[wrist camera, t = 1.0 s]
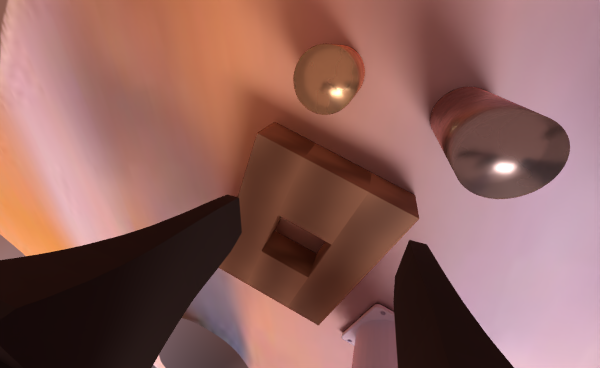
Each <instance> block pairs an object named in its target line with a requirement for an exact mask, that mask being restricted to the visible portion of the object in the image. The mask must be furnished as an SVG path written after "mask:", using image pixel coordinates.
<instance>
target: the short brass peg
mask: <svg viewBox="0 0 600 368" xmlns="http://www.w3.org/2000/svg"><path fill="white" fill-rule="evenodd" d="M364 76H365V68H364V63H363V61H362V59H361V57H360V55H359V54H358V53H357V52H356V51H355V50H354V49H352V48H351V47H348V46H345V45H335V44H320V45H316V46H314V47H312V48H310V49H309V50H307V51H306V52H305V53H304V54H303V55H302V56H301V58H300V59H299V61H298V63H297V65H296V68H295V71H294V80H293V81H294V89H295V92H296V95H297V97H298V99H299V100H300V102H301V103H302V104H303V105H304V106H305V107H306V108H307V109H308V110H310V111H312V112H314V113H317V114H322V115H327V114H333V113H336V112H338V111H340V110H342V109H343V108H344V107H346V106H347V105H348V103H349V102H350V101H351V100H352V98H353V97H354V96H355V95H356V93H357V92H358V91H359V89H360V88H361V86H362V83H363V80H364Z"/></svg>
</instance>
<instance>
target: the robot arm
mask: <svg viewBox="0 0 600 368" xmlns="http://www.w3.org/2000/svg"><path fill="white" fill-rule="evenodd" d="M241 233H242V227H241V215H240V202H239V198H238V197H234V196H230V195H225V196H222V197H220V198H217V199H215V200H213V201H210V202H208V203H206V204H203V205H201V206H199V207H197V208H194V209H192V210H190V211H187V212H185V213H183V214H180V215H178V216H175V217H173V218H170V219H168V220H165V221H162V222H160V223H157V224H155V225H152V226H149V227H146V228H143V229H140V230H137V231H134V232H131V233H128V234H125V235H121V236H118V237H114V238H110V239H106V240H103V241H99V242H95V243H91V244H87V245H83V246H78V247H74V248H69V249H65V250H59V251H54V252H49V253H44V254H38V255H32V256H26V257H19V258H14V259H6V260H0V368H151V367H152V366H153V364H154V362H155V360H156V359H157V357H158V355H159V353H160V352H161V350H162V348H163V347H164V345H165V343H166V341H167V340H168V338H169V337H170V335H171V333H172V332H173V330H174V329H175V327H176V325H177V324H178V322H179V321H180V319H181V318H182V316H183V314H184V313H185V311H186V310H187V308H188V307H189V305H190V304H191V302H192V301H193V299H194V298H195V297H196V295H197V294H198V293H199V291H200V290H201V289H202V288H203V286H204V285H205V284H206V282H207V281H208V280H209V279H210V277H211V276H212V275H213V274H214V272H215V271H216V270H217V269H218V267H219V266H220V265H221V264H222V262H223V261H224V260H225V258H226V257H227V256H228V255H229V253H230V252H231V250H232V249H233V247H234V245H235V244H236V242H237V240H238V239H239V237H240V235H241ZM342 339H343V340H345V341H347V342H348V343H350V344H352V345H353V346H354V353H353V361H352V368H514V367H513V366H512V365H511V364H510V362H509V361H508V360H507V359H506V358H505V356H504V355H503V354H502V353H501V351H500V350H499V349H498V348H497V347H496V345H495V344H494V343H493V342H492V340H491V339H490V338H489V337H488V335H487V334H486V333H485V331H484V330H483V329H482V327H481V326H480V325H479V323H478V322H477V321H476V319H475V318H474V317H473V315H472V314H471V313H470V311H469V310H468V308H467V307H466V305H465V304H464V303H463V301H462V300H461V298H460V297H459V295H458V294H457V292H456V291H455V289H454V287H453V286H452V284H451V283H450V281H449V280H448V278H447V277H446V275H445V273H444V272H443V270H442V269H441V267H440V265H439V264H438V262H437V260H436V259H435V257H434V255H433V254H432V252H431V250H430V249H429V247H428V246H427V244H423V243H419V242H415V241H411V240H409V242H408V245H407V247H406V250H405V252H404V255H403V257H402V260H401V263H400V265H399V268H398V270H397V273H396V275H395V285H394V312H393V311H391V310H389V309H387V308H386V307H384V306H382V305H380V304H375V305H374V306H372V307H371V308H370V309H369V310H368V311H367V312H366V313H365V314H364V315H362V316H361V317H360V318H359V319H358V320H357V321H356V322H355V323H353V324H352V325H351V326H350V327H349V328H348V329H347V330H346V331H344V332H343V333H342Z"/></svg>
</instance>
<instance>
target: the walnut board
mask: <svg viewBox="0 0 600 368" xmlns="http://www.w3.org/2000/svg"><path fill="white" fill-rule="evenodd" d="M238 198H239V202H240V215H241V227H242V233H241V235H240V237H239V239H238V240H237V242H236V244H235V245H234V247H233V249H232V250H231V252H230V253H229V255H228V256H227V257H226V258H225V260H224V261H223V262H222V264H221V265H220V266H219V268H220V269H222V270H224V271H225V272H227V273H229V274H231V275H232V276H234V277H236V278H238V279H239V280H241V281H243V282H244V283H246V284H248V285H250V286H251V287H253V288H255V289H257V290H258V291H260V292H262V293H263V294H265V295H267V296H269V297H270V298H272V299H274V300H276V301H277V302H279V303H281V304H282V305H284V306H286V307H288V308H289V309H291V310H293V311H295V312H296V313H298V314H300V315H302V316H303V317H305V318H307V319H308V320H310V321H312V322H314V323H315V324H317V325H319V324H320V323H321V322H322V321H323V320H324V319H325V318H326V317H327V316H328V315H329V314H330V313H331V312H332V311H333V309H334V308H335V307H336V306H337V305H338V304H339V303H340V302H341V301H342V300H343V299H344V298H345V297H346V296H347V295H348V294H349V293H350V291H351V290H352V289H353V288H354V287H355V286H356V285H357V284H358V283H359V282H360V281H361V280H362V279H363V278H364V277H365V276H366V275H367V273H368V272H369V271H370V270H371V269H372V268H373V267H374V266H375V265H376V264H377V263H378V262H379V261H380V260H381V259H382V258H383V257H384V255H385V254H386V253H387V252H388V251H389V250H390V249H391V248H392V247H393V246H394V245H395V244H396V243H397V242H398V241H399V240H400V239H401V237H402V236H403V235H404V234H405V233H406V232H407V231H408V230H409V229H410V228H411V227H412V226H413V225H414V224H415V223H416V222H417V221H418V219H419V215H418V209H417V203H416V197H415V195H413V194H412V193H410V192H408V191H406V190H404V189H402V188H400V187H398V186H396V185H394V184H392V183H391V182H389V181H387V180H385V179H383V178H381V177H379V176H377V175H375V174H373V173H371V172H369V171H368V170H366V169H364V168H362V167H360V166H358V165H356V164H354V163H352V162H350V161H348V160H346V159H345V158H343V157H341V156H339V155H337V154H335V153H333V152H331V151H329V150H327V149H325V148H324V147H322V146H320V145H318V144H316V143H314V142H312V141H310V140H308V139H306V138H304V137H302V136H301V135H299V134H297V133H295V132H293V131H291V130H289V129H287V128H285V127H283V126H281V125H279V124H278V123H276V122H274V123H273V124H271V125H269V126H268V127H266V128H265V129H263V130H261V131H260V132H258V133H257V135H256V139H255V142H254V145H253V149H252V152H251V155H250V158H249V162H248V165H247V168H246V172H245V175H244V178H243V181H242V185H241V188H240V191H239V195H238ZM281 217H282V218H284V219H286V220H288V221H289V222H291V223H293V224H295V225H297V226H299V227H300V228H302V229H304V230H306V231H308V232H309V233H311V234H313V235H315V236H317V237H319V238H320V239H322V240H324V241H325V243H324V244H323V246H322V247H321V248H320V250H319V251H318V253H317V254H316V253H314V252H312V251H310V250H309V249H307V248H305V247H303V246H301V245H300V244H298V243H296V242H294V241H292V240H291V239H289V238H287V237H285V236H283V235H282V234H280V233H278V232H276V231H275V229H276V227H277V224H278V222H279V220H280V218H281Z"/></svg>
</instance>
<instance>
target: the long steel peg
mask: <svg viewBox="0 0 600 368" xmlns="http://www.w3.org/2000/svg"><path fill="white" fill-rule="evenodd" d="M430 124H431V128H432V130H433V132H434V134H435V136H436V138H437V140H438V142H439V144H440V146H441V148H442V150H443V151H444V153H445V155H446V157H447V159H448V161H449V163H450V165H451V167H452V169H453V171H454V173H455V174H456V176H457V178H458V180H459V181H460V183H461V184H462V185H463V186H464V187H465V188H466V189H467V190H469V191H470V192H472V193H474V194H476V195H479V196H482V197H486V198H493V199H508V198H515V197H519V196H523V195H526V194H529V193H532V192H534V191H536V190H538V189H540V188H542V187H543V186H545V185H546V184H548V183H549V182H550V181H552V180H553V179H554V178H555V177H556V176H557V175H558V174H559V173H560V171H561V170H562V169H563V167H564V166H565V164H566V162H567V159H568V156H569V152H570V142H569V138H568V135H567V134H566V132H565V130H564V129H563V128H562V127H561V126H560V125H559V124H558V123H557V122H555V121H554V120H552V119H550V118H548V117H546V116H543V115H541V114H539V113H536V112H534V111H532V110H529V109H527V108H525V107H523V106H520V105H518V104H516V103H513V102H511V101H509V100H506V99H504V98H502V97H499V96H497V95H495V94H492V93H490V92H488V91H485V90H483V89H481V88H477V87H462V88H458V89H455V90H453V91H451V92H449V93H447V94H446V95H444V96H443V97H442V98H441V99H440V100H439V101H438V102H437V103H436V105H435V106H434V108H433V110H432V113H431V117H430Z"/></svg>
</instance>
